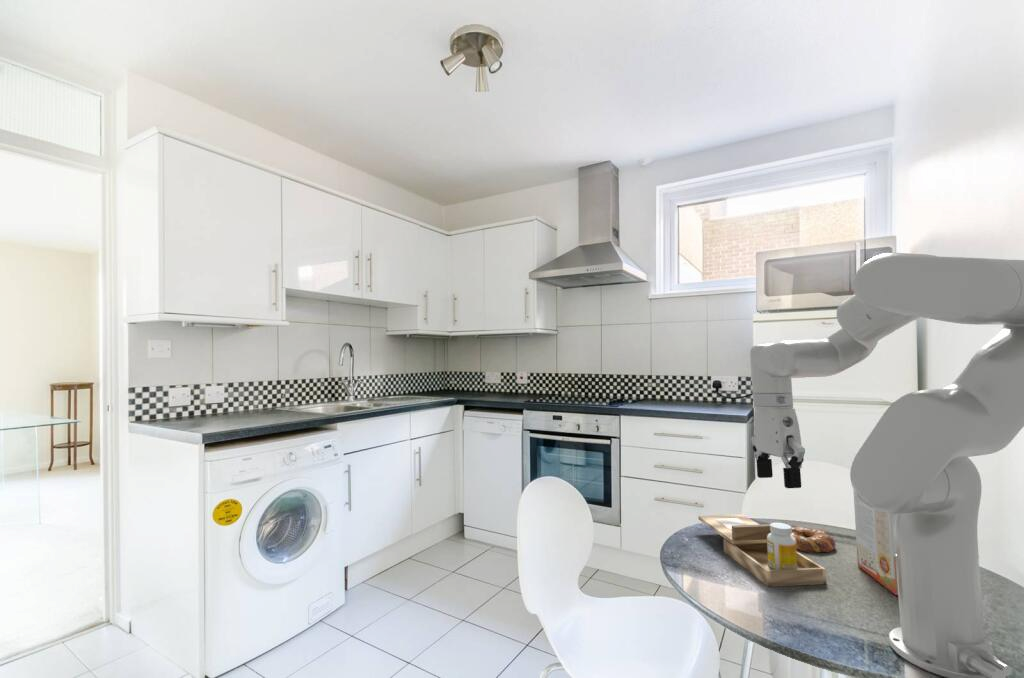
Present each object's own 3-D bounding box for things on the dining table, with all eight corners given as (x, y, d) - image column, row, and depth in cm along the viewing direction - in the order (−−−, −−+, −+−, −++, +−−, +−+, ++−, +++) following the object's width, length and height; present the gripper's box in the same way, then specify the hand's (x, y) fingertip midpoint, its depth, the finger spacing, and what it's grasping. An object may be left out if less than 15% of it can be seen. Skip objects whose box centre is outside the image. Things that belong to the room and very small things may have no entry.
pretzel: (774, 548, 115) (773, 532, 115) (781, 535, 123) (780, 520, 123) (834, 559, 107) (833, 542, 108) (837, 544, 116) (836, 528, 116)
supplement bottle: (764, 571, 100) (761, 525, 100) (774, 564, 103) (772, 519, 104) (791, 580, 96) (789, 531, 96) (802, 572, 99) (799, 525, 100)
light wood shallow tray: (826, 584, 95) (825, 568, 95) (768, 586, 94) (767, 571, 95) (773, 549, 113) (772, 536, 113) (724, 551, 112) (723, 538, 112)
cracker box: (931, 599, 88) (923, 485, 89) (894, 596, 89) (886, 484, 90) (888, 567, 102) (881, 469, 103) (856, 565, 103) (850, 468, 104)
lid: (784, 542, 109) (783, 525, 109) (733, 544, 108) (732, 527, 108) (742, 517, 126) (741, 503, 127) (698, 519, 126) (697, 504, 126)
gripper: (817, 403, 93) (824, 491, 92) (766, 398, 110) (771, 473, 109) (780, 404, 93) (786, 493, 92) (735, 399, 110) (739, 474, 109)
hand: (778, 482), depth 100 cm, fingers open, 9 cm apart
